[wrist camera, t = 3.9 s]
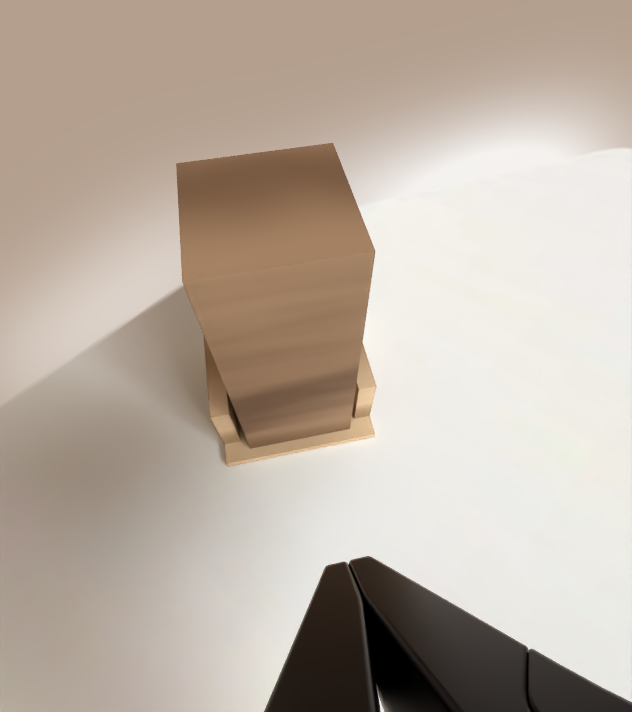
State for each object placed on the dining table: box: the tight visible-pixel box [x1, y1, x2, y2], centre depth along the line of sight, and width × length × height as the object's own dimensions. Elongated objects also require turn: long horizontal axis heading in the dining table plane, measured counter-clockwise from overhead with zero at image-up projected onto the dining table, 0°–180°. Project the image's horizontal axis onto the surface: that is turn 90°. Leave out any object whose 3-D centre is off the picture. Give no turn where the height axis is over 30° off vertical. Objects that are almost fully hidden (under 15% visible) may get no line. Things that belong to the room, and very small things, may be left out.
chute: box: [204, 336, 376, 466], centre depth 22 cm, size 9×7×4 cm
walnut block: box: [176, 143, 375, 449], centre depth 17 cm, size 5×5×12 cm
